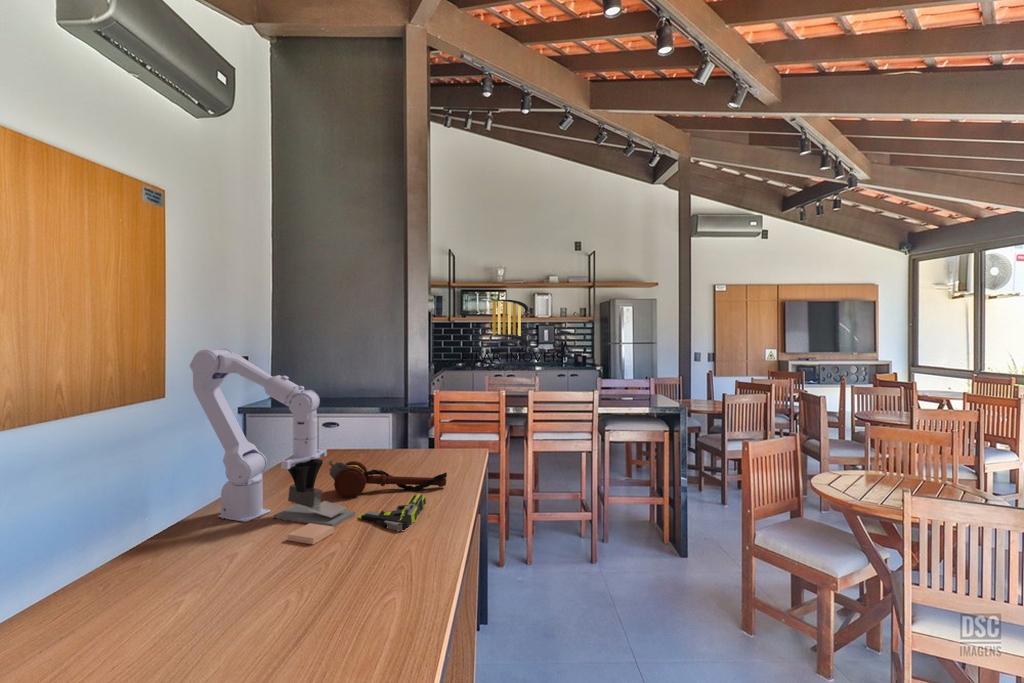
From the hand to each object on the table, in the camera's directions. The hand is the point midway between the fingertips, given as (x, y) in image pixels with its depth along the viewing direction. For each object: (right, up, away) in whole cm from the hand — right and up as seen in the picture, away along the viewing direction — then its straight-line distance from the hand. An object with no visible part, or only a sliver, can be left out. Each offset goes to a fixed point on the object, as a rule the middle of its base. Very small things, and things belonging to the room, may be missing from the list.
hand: (305, 490), depth 129 cm
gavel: (+17, -7, +20) cm, 27 cm away
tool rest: (+3, -7, -1) cm, 7 cm away
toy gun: (+22, -7, -1) cm, 23 cm away
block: (+4, -6, -13) cm, 15 cm away
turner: (+3, -4, -1) cm, 5 cm away
